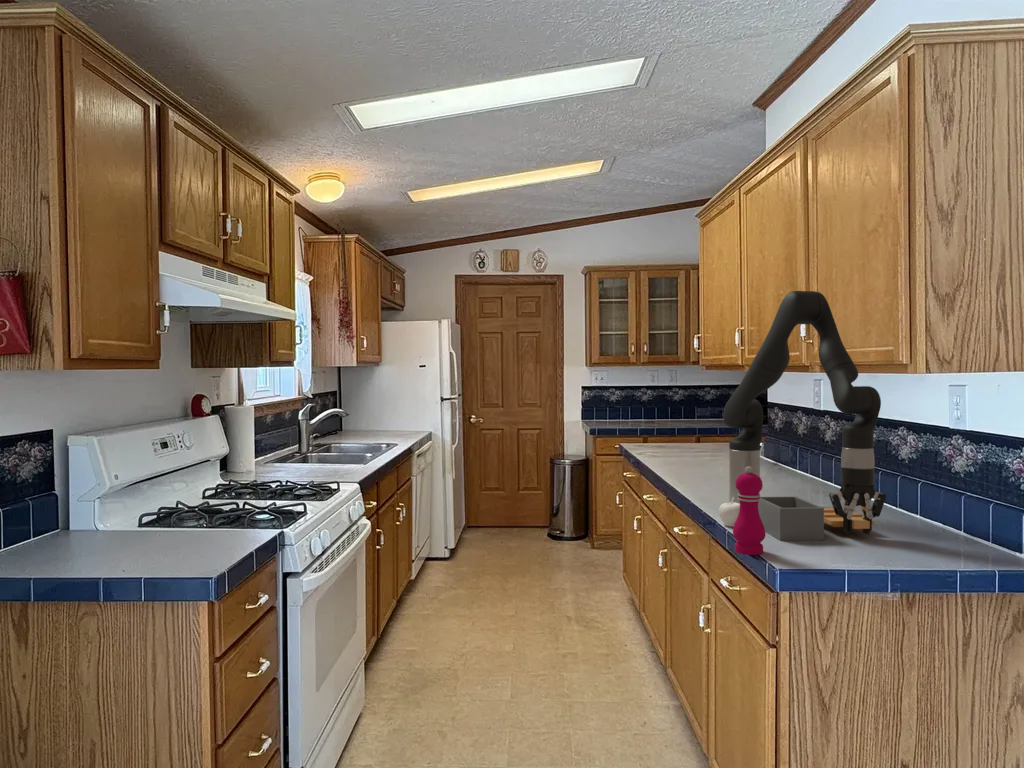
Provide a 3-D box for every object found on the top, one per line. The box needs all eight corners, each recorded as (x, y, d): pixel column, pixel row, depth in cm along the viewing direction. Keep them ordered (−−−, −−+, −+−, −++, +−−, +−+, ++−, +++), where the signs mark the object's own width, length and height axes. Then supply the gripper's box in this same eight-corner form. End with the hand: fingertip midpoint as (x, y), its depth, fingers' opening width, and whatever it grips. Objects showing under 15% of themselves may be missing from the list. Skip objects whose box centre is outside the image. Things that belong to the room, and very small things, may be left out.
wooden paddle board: (803, 515, 191) (803, 505, 191) (842, 514, 191) (842, 505, 191) (840, 532, 171) (839, 521, 171) (883, 531, 171) (883, 521, 171)
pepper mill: (726, 549, 162) (726, 465, 162) (749, 546, 165) (749, 463, 165) (747, 557, 155) (747, 469, 155) (772, 553, 158) (772, 467, 158)
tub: (755, 526, 186) (755, 496, 186) (795, 525, 187) (795, 496, 187) (780, 540, 170) (780, 508, 170) (823, 540, 171) (823, 508, 171)
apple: (725, 528, 184) (725, 499, 183) (714, 523, 191) (714, 494, 190) (750, 528, 184) (750, 498, 184) (739, 522, 191) (739, 493, 191)
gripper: (877, 463, 176) (876, 529, 177) (822, 463, 176) (822, 530, 176) (894, 467, 169) (893, 536, 169) (837, 467, 169) (836, 537, 169)
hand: (857, 533), depth 173 cm, fingers closed on wooden paddle board, 4 cm apart
